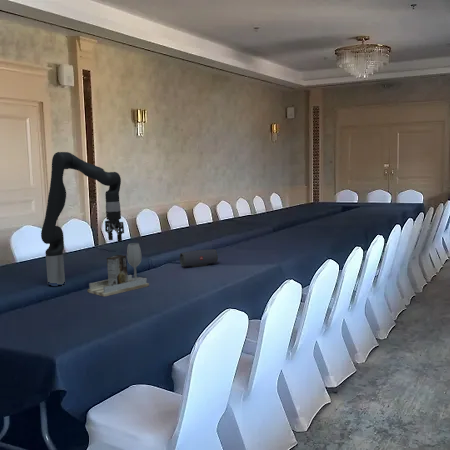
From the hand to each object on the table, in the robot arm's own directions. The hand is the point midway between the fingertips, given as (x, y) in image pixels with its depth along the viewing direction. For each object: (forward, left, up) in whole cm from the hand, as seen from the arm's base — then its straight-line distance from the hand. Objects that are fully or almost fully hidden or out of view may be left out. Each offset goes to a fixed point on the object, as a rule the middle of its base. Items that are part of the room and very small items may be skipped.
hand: (115, 240), depth 293 cm
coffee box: (0, 0, -25) cm, 25 cm away
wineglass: (-10, +18, -26) cm, 33 cm away
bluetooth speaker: (-11, +67, -26) cm, 73 cm away
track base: (0, 0, -26) cm, 26 cm away
